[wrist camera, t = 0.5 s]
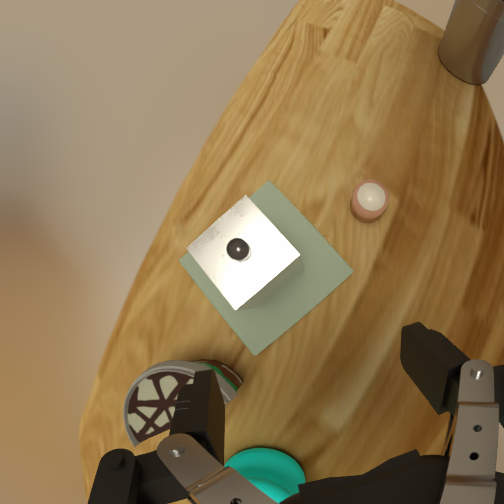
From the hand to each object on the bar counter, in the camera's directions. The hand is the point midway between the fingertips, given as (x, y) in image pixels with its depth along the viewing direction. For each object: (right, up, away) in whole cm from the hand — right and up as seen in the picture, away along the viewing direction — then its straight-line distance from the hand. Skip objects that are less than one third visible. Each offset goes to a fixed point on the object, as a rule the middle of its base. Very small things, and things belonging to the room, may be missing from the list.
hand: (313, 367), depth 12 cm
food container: (-9, -10, +23) cm, 26 cm away
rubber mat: (-1, +3, +23) cm, 23 cm away
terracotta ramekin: (+10, +10, +22) cm, 26 cm away
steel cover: (-1, +3, +23) cm, 23 cm away
